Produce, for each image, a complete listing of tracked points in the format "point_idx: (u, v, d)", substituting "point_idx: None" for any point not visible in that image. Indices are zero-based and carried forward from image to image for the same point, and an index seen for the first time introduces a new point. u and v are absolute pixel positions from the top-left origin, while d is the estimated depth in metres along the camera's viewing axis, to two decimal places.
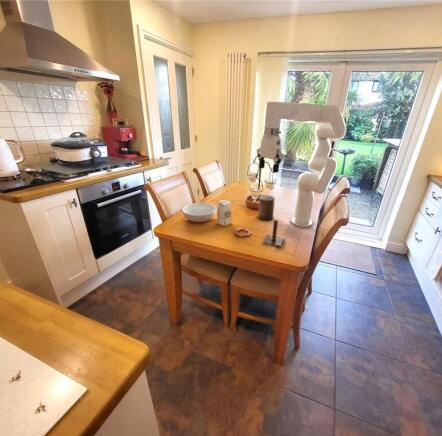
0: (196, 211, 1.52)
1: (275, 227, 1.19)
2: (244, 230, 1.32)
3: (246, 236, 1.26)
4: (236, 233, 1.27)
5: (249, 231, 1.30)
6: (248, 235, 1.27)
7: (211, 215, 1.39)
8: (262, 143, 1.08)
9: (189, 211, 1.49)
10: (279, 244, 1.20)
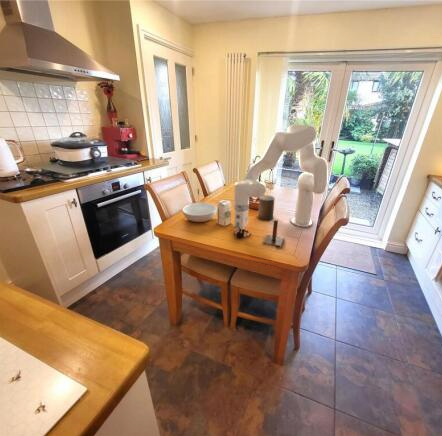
0: (196, 211, 1.52)
1: (275, 227, 1.19)
2: (244, 230, 1.32)
3: (246, 236, 1.26)
4: (236, 233, 1.27)
5: (249, 231, 1.30)
6: (248, 235, 1.27)
7: (211, 215, 1.39)
8: None
9: (189, 211, 1.49)
10: (279, 244, 1.20)
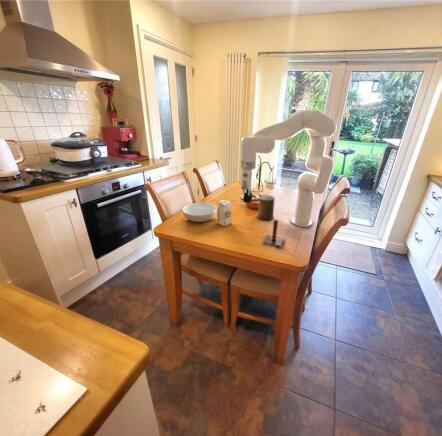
0: (196, 211, 1.52)
1: (275, 227, 1.19)
2: None
3: (254, 200, 1.15)
4: (243, 197, 1.17)
5: (257, 196, 1.20)
6: (256, 199, 1.16)
7: (211, 215, 1.39)
8: None
9: (189, 211, 1.49)
10: (279, 244, 1.20)
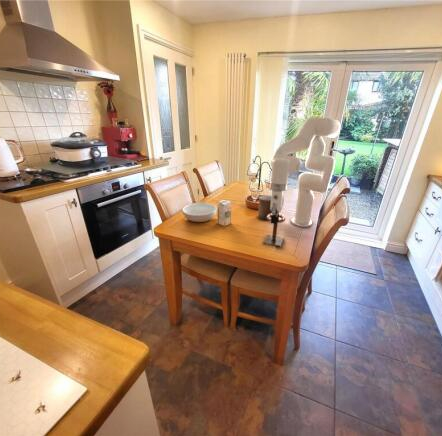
0: (196, 211, 1.52)
1: (275, 227, 1.19)
2: None
3: (281, 221, 1.13)
4: None
5: (283, 216, 1.18)
6: (283, 220, 1.14)
7: (211, 215, 1.39)
8: None
9: (189, 211, 1.49)
10: (279, 244, 1.20)
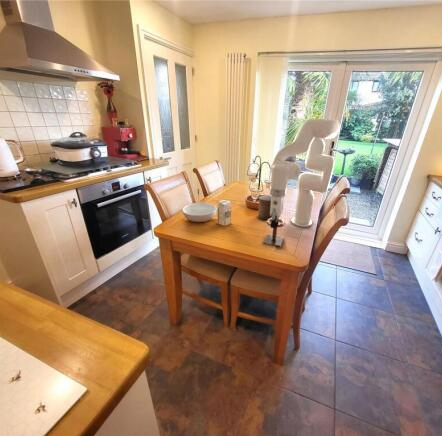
0: (196, 211, 1.52)
1: None
2: None
3: (281, 225, 1.15)
4: (269, 222, 1.16)
5: None
6: (283, 224, 1.16)
7: (211, 215, 1.39)
8: None
9: (189, 211, 1.49)
10: (279, 244, 1.20)
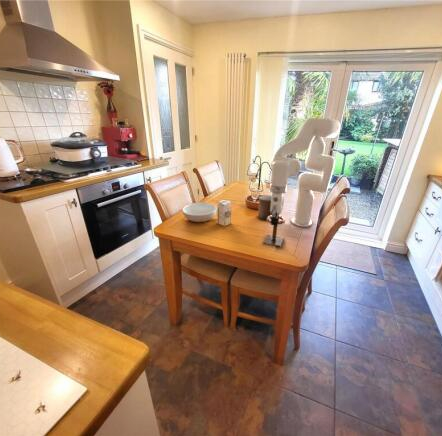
0: (196, 211, 1.52)
1: (275, 227, 1.19)
2: None
3: (281, 222, 1.14)
4: (270, 219, 1.16)
5: (283, 217, 1.18)
6: (283, 221, 1.15)
7: (211, 215, 1.39)
8: None
9: (189, 211, 1.49)
10: (279, 244, 1.20)
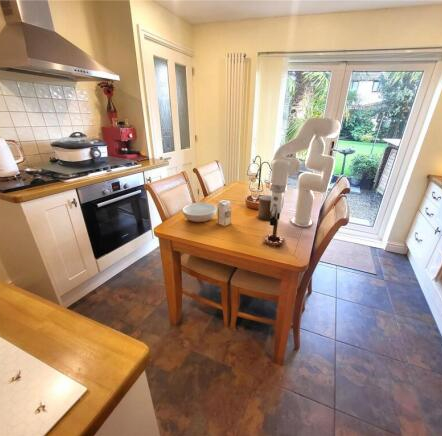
0: (196, 211, 1.52)
1: (275, 227, 1.19)
2: None
3: (279, 243, 1.18)
4: (267, 240, 1.20)
5: (281, 238, 1.22)
6: (280, 242, 1.19)
7: (211, 215, 1.39)
8: None
9: (189, 211, 1.49)
10: None
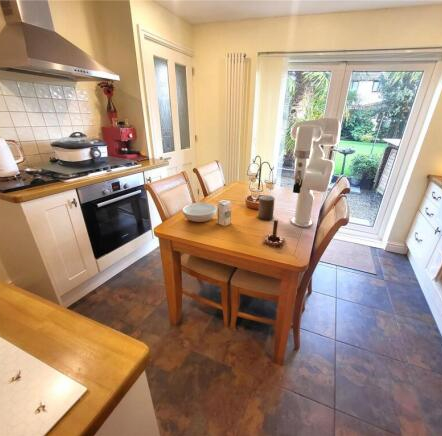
0: (196, 211, 1.52)
1: (275, 227, 1.19)
2: None
3: (279, 243, 1.18)
4: (267, 240, 1.20)
5: (281, 238, 1.22)
6: (280, 242, 1.19)
7: (211, 215, 1.39)
8: None
9: (189, 211, 1.49)
10: None
